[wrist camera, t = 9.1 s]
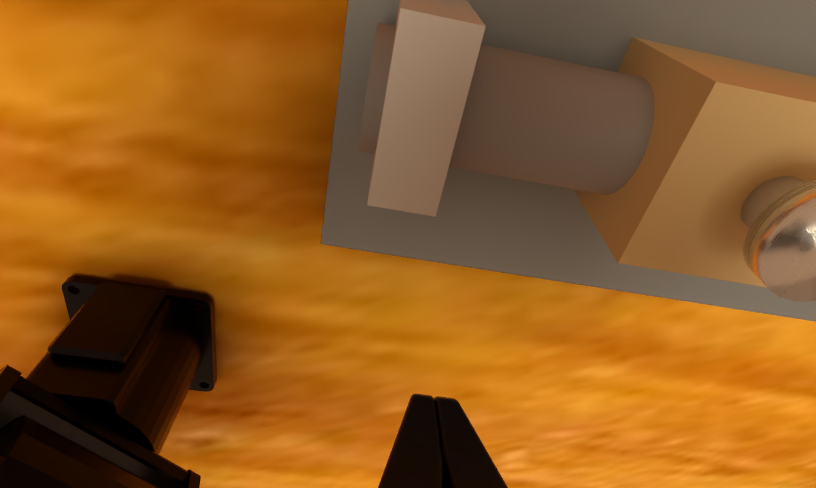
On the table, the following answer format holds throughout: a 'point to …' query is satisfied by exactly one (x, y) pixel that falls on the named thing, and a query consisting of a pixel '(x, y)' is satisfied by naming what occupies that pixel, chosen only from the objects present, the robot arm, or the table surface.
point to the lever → (786, 245)
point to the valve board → (536, 206)
